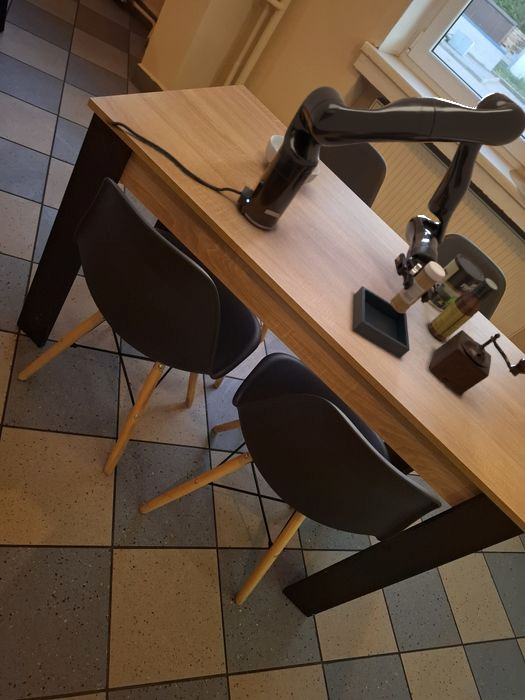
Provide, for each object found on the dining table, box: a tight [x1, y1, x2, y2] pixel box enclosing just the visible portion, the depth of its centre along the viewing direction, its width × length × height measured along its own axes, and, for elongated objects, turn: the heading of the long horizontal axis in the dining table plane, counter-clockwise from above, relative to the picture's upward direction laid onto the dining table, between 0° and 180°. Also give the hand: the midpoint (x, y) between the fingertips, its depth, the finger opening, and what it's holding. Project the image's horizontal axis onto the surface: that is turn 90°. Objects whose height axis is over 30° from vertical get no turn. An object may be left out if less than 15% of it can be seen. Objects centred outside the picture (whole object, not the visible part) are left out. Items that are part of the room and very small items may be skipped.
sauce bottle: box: [428, 277, 498, 341], centre depth 130 cm, size 7×6×20 cm
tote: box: [352, 285, 411, 359], centre depth 121 cm, size 14×14×4 cm
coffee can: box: [427, 253, 486, 312], centre depth 145 cm, size 10×10×14 cm
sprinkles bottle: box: [389, 261, 445, 313], centre depth 113 cm, size 5×5×13 cm
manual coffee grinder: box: [428, 329, 525, 397], centre depth 120 cm, size 16×11×18 cm
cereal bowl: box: [265, 134, 321, 185], centre depth 144 cm, size 17×17×7 cm
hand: (416, 293), depth 111 cm, fingers closed on sprinkles bottle, 4 cm apart
